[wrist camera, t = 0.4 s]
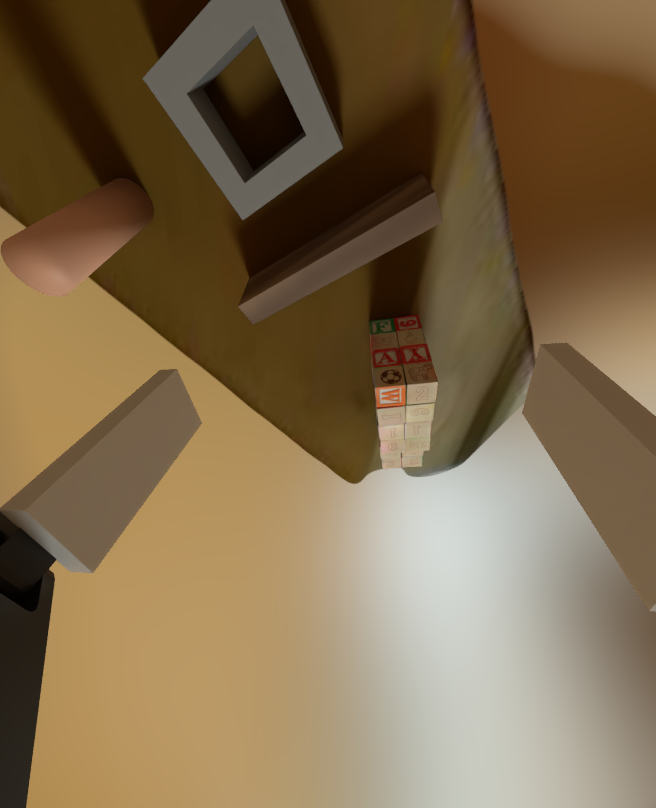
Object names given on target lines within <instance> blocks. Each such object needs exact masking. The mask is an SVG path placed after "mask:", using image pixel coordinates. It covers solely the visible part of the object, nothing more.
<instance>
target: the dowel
mask: <svg viewBox="0 0 656 808" xmlns="http://www.w3.org/2000/svg"><path fill="white" fill-rule="evenodd" d="M153 214H154V210H153V205H152V202H151V200H150V198H149V196H148V195H147V193H146V192H145V191H144V190H143V189H142V187H140V186H139V185H138V184H137V183H135V182H133V181H132V180H129V179H126V178H117V179H114V180H113V181H111V182H109V183H107V184H105V185H104V186H102V187H100V188H98V189H96V190H95V191H93V192H91V193H89V194H87V195H86V196H84V197H82V198H80V199H78V200H76V201H75V202H73V203H71V204H69V205H67V206H66V207H64V208H62V209H60V210H58V211H57V212H55V213H53V214H51V215H49V216H48V217H46V218H44V219H42V220H40V221H39V222H37V223H35V224H33V225H31V226H30V227H28V228H26V229H24V230H22V231H21V232H19V233H17V234H15V235H14V236H11V237H10V238H8V239H6V240H5V241H4V242H3V243H2V245H1V254H2V257H3V260H4V262H5V263H6V265H7V266H8V268H9V269H10V270H11V271H12V273H14V275H16V277H17V278H19V279H20V280H21V281H22V282H23V283H25V284H26V285H28V286H29V287H31V288H33V289H34V290H37V291H39V292H41V293H43V294H46V295H50V296H65V295H67V294H69V293H70V292H71V291H72V290H73V289H74V288H76V287H77V286H78V285H79V284H80V283H81V282H82V281H83V280H85V279H86V278H87V277H88V276H89V275H90V274H91V273H93V272H94V271H95V270H96V269H97V268H98V267H99V266H101V265H102V264H103V263H104V262H105V261H106V260H107V259H108V258H110V257H111V256H112V255H113V254H114V253H115V252H116V251H118V250H119V249H120V248H121V247H122V246H123V245H124V244H126V243H127V242H128V241H129V240H130V239H131V238H132V237H133V236H135V235H136V234H137V233H138V232H139V231H140V230H141V229H143V228H144V227H145V226H146V225H147V224H148V223H149V222H150V221H151V220H152V218H153Z"/></svg>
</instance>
